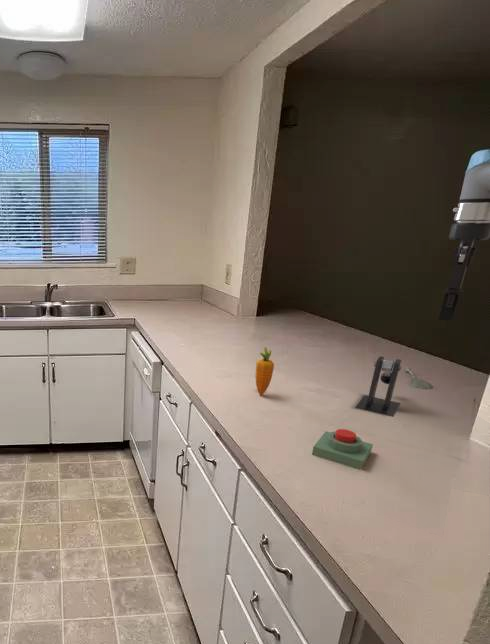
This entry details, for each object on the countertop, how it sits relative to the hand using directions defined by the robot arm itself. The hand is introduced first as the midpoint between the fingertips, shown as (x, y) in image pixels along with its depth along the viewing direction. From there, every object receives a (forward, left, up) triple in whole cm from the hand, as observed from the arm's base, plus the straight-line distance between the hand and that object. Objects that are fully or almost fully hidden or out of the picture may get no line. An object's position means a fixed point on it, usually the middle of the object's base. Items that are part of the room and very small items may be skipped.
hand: (445, 319), depth 112 cm
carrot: (+16, +38, -27) cm, 49 cm away
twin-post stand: (+3, +10, -26) cm, 28 cm away
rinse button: (-20, +35, -23) cm, 46 cm away
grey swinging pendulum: (+5, +8, -18) cm, 20 cm away
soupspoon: (+23, -17, -27) cm, 39 cm away
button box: (-20, +35, -26) cm, 48 cm away
